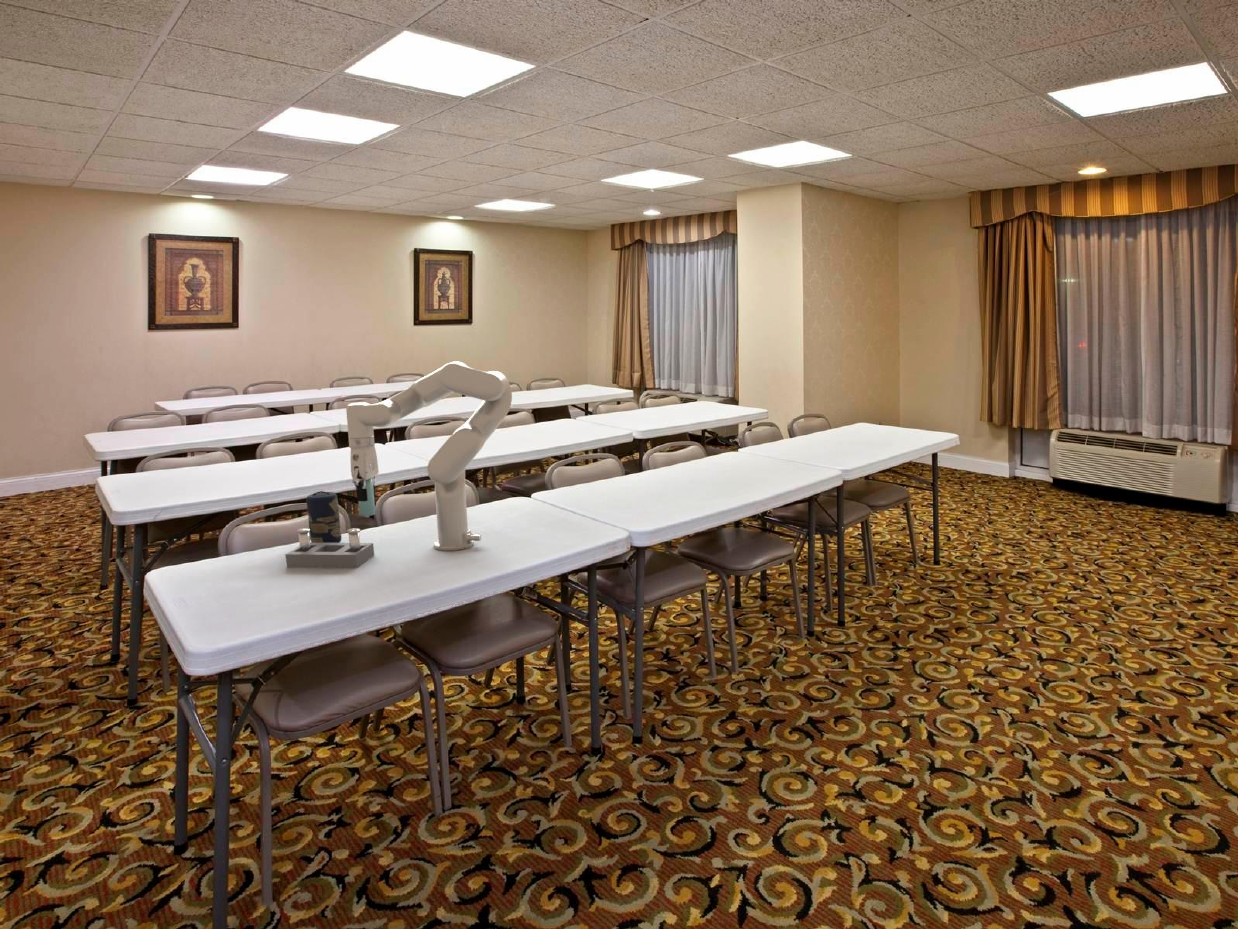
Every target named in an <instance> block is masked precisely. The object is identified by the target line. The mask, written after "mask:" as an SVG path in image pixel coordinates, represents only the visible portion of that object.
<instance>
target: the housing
mask: <svg viewBox="0 0 1238 929" xmlns="http://www.w3.org/2000/svg"><path fill="white" fill-rule="evenodd" d="M310 547H311V549H310V550H308V551H306V552H300V545H299V546H297V547H296V548H294V549H292V550H291V551H289V552H287V553H285V563H286V568H332V567H334V568H335V569H337V568H338V569H339V568H341V569H343V568H345V569H348V568H349V569H357V568H359V567H360V566H362V565H363V564H364V563H366V562H367V561H368V559H369V558H370V559H371V558H373V557H374V556H375V549H374V542H360V548H361V550H359V551H358V552H350V544H349V542H339V543H311V542H310ZM373 555H374V556H373ZM370 559H369V560H370ZM365 561H366V562H365ZM334 568H333V569H334Z"/></svg>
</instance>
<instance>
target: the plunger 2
mask: <svg viewBox="0 0 1238 929" xmlns="http://www.w3.org/2000/svg"><path fill="white" fill-rule="evenodd" d="M346 533H347V534H348V543H349V544H350V552H358V551H359V550H361V548H360V543H361V540H360V533H361V528H358V527H353V528H349V529H347V530H346Z"/></svg>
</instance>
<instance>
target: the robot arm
mask: <svg viewBox="0 0 1238 929" xmlns="http://www.w3.org/2000/svg"><path fill="white" fill-rule="evenodd" d="M454 393H456V394H458V395H463V396H465V397H466V396H467V397H470V398H473V399H477V400H482V402H481V403H480V405H479V406H478V407H477V408H476V410H474V412H473V414H472V415H471V416H470V417H469V418H467V420H466V421H465V422H464V424H462V425H461V426H459V427H458V428H457V429H455V431H454V432H452V434H451V435H450V436H449V437H448V439H446V441H445V442H444V443H443V444H442V445H441V447H440V448H439V449H438V450H437V452H435V454H433V456H432V457H431V459H430V460H429V461H428V463H427V468H426V470H427V474H428V477H429V478H430V480H431V481H432V482H434V496H435V497H434V498H435V509H436V510H435V511H436V524H437V538H438V539H437V540H435V541H434V542H433V547H434V549H436V550H438V551H447V552H450V551H451V552H452V551H458V550H459V551H460V550H464V548H465V549H467V548H470V547H472V546H473V545H474V543H475V542H481V540H482V535H481V534H480V533H472V529H471V528H470V529H469V528H468V527H469V526H468V525H469V523H468V512H467V511H468V509H467V494H466V468H467V467H468V465H469V464H470V463H471V462H472V460H474V458H475V457H476V456H477V454H479V452H481V449H483V447H484V445H485V443H487V441H488V440H489V438H490V437H491V436H492V434H493V433H494V432H495V431H496V429H497V428H498V427H499V426H500V425H501V423H502V422H503V421H504V420H505V418H506V416H507V415H508V413H509V412H510V408H511V406H512V400H513V392H512V387H511V384H510V382H509V380H508V378H507V376H505V374H503V373H502V372H500V371H496V370H491V371H490V370H489V371H484V370H479V369H475V368H472V367H469V366H467V365H466V364H465V363H464V362H461V361H452V362H449V363H446V364H444V365H443V366H441V367H439V368H438V369H436V370H435V371H433V372H431V373H429V374H427V375H425V376H423V377H421V378H419V379H417V380H416V381H414V382H413V383H412V384H411V385H410V386H408V388H405V389H404V390H402V391H401V392H399V393H397V394H395V395H393V396H391V397H389V398H387V399H386V400H385V399H384V400H382V401H380V402H377V403H371V404H370V403H368V402H351V403H348V404H347V405H346V410H345V412H346V421H347V424H346V425H347V434H348V445H349V449H350V472H351V473H350V475H351V478H352V479H351V480H352V481H351V482H352V483H353V484H354V486H355V488H354V489H355V490H356V499H357V500H356V501H357V502H358V501H367V500H368V498H367V489H365V486H366V480H368V479H370V478H373V490H374V498H375V497H376V488H375V484H376V482H375V478H376V476H377V475H378V474H379V471H380V470H379V464H378V462H379V461H378V458H377V457H378V456H377V450H376V447H375V445H376V443H375V433H374V427H375V428H387V427H388V426H391V425H392V424H394V423H396V422H398V421H400V420H401V419H403V418H405V417H408V415H409V416H410V414H413V413H415V412H417V411H418V410H421V409H423V408H427V407H429V406H432V405H433V404H435V403H437V402H439V401H441V400H442V399H444V398H446V397H448V396H450V395H452V394H454ZM359 477H362V478H363V479H359ZM359 481H362V483H361V482H359Z"/></svg>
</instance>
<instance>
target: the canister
mask: <svg viewBox="0 0 1238 929" xmlns="http://www.w3.org/2000/svg"><path fill="white" fill-rule="evenodd" d="M305 501H306V509H307V510H306V511H307V518H308V528H310V532H309V537H310V543H341V541H342V539H343V538H342V529H341V528H342V527H341V521H340V510H339V509H340V508H339V501H338V495H337V493H335V492H333V491H323V490H320V491H316V492H313V493H311V494H309V495H307V497H306V500H305Z"/></svg>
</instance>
